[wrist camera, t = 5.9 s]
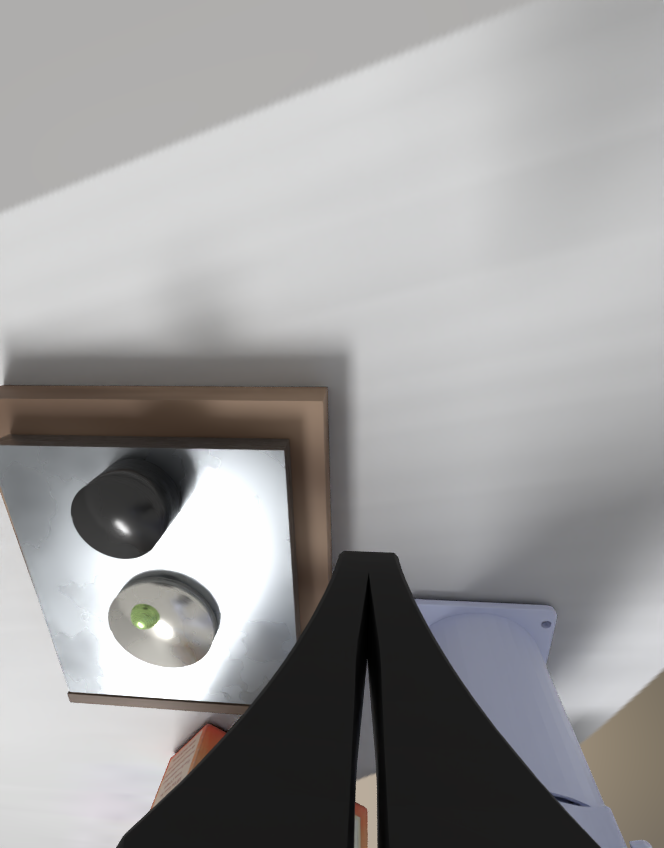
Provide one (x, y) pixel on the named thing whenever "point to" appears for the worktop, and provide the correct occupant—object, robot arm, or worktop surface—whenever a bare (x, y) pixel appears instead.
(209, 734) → the cracker box
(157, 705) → the base
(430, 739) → the robot arm
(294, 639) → the plate
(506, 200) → the worktop surface
